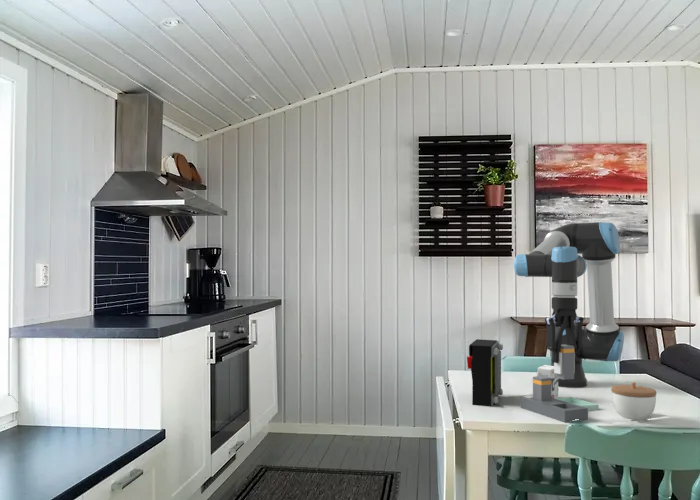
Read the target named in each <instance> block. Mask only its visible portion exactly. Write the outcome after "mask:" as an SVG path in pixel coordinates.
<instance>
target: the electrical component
mask: <svg viewBox="0 0 700 500" xmlns="http://www.w3.org/2000/svg"><path fill="white" fill-rule="evenodd" d="M503 349H504V346H503V343H499V341H498V340H497V339H479V338H478V339H475V340H473V341H472V343H470V344H469V345H468V355H469V356H466V362H467V369H468V370H469V369H470V372H471V379H472V386H471V387H472V388H471V389H472V393H471V395H472V396H471V397H472V400H471V401H472V403H471V404H472V406H481V407H490V408H491V407H494V404H498V403H499V396H502V395H503V394H504V393H503V392H504V390H503V389H502V350H503Z"/></svg>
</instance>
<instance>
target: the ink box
mask: <svg viewBox="0 0 700 500" xmlns="http://www.w3.org/2000/svg"><path fill="white" fill-rule="evenodd" d="M536 373H537V376H545V377H549V378H551V381H552V384H551V398H554V399H557V398H559V386H558V378H555V373H554V366H551V364H550V365H549V364H543V365H542V366H538V367H537V372H536Z"/></svg>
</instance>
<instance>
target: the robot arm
mask: <svg viewBox="0 0 700 500" xmlns="http://www.w3.org/2000/svg"><path fill="white" fill-rule="evenodd" d="M620 242H621V240H620V235H619V232H618V228H617V227H616V225H615V224H614V223H613V222H604V221H603V222H602V221H597V222H582V223H581V222H580V223H577V222H573V223H568V224H564V225H561V226H558V227H557V228H554V229H553V230H550V232H548V233H547V234H546V235H545V236H544V239H543V240H542V242H541V243H540V244H539V245H538V246H536V247H535V248H534V249H533V250H531V251H530V252H529V253H523V254H520V253H519V254H517V255H515V257H514V262H513V269H514V274H515V275H516V276H518V277H525V278H537V277H538V278H551V296H552V297H551V309H552V314H551V315H550V316H549V317H545V318H544V322H545V325H546V349H547V350H549V351H550V354H551V355H550V356H551V357H550V360H551V361H550V366H554V373H557V374H562V352H560V349H561V345H563V344H565V345H571V346H574V379H566V380H563V379H559V378H558V387H561V388H563V387H564V388H565V387H566V388H582V387H583V388H584V387H586V386H588V383H587V382H588V379H587V377H586V374H585V371H584V367H583V360H591V361H592V360H593V361H601V362H602V361H603V362H617V361H620V359H621V356H622V352H623V349H624V348H623V347H624V341H625V332H624V331H621V330H620V326H619V325H618V324H617V323H616V322H615V316H614V315H615V312H614V311H615V310H614V309H615V308H614V293H613V292H614V291H613V273H612V262H613V261H614V260H615V259H616V255H617V254H619V253H620V250H621V246H620ZM581 255H582V256H581ZM586 272H587V273H586ZM585 273H586V274H587V275H586V276H587V288H588V308H589V323H588V324H586V326H585V328H586V329H585V328H583V322H584V320H585V319H584V317H581V316H579V315H577V312H576V311H577V310H578V298H577V296H578V278H580V277H581V276H583V275H584V274H585Z"/></svg>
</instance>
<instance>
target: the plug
mask: <svg viewBox="0 0 700 500" xmlns="http://www.w3.org/2000/svg"><path fill="white" fill-rule="evenodd" d="M560 352H562V374H557V373H555V378H559V379H563V380H566V379H574V346H571V345H565V344H563V345H561V349H560Z"/></svg>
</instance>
